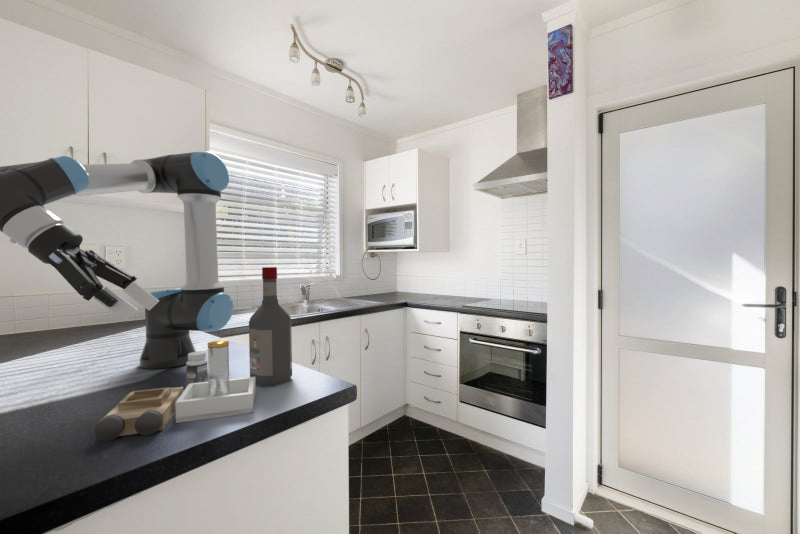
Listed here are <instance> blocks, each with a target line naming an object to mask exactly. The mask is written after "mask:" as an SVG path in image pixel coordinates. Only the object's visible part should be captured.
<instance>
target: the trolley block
mask: <svg viewBox="0 0 800 534" xmlns="http://www.w3.org/2000/svg"><path fill="white" fill-rule="evenodd" d="M183 391H184V386H179V387H171V386H170V387H168V386H167V387H161V388H152V389H151V388H150V389H141V390H133V391H132V390H131V392H129V393H128V394H127V395H126V396H125V397H124V398H123V399H121V400H120V401H119V402H118V403H117V405H116V406H114V408H112V409H111V410H110V411H109V412H108V413H107V414H105V415H104V416H103V417H102V418H101V419H100V420H99V421H98V422H97V424H96V425H95V427H94V430H93V435H94V436H95V437H96V438H97V439H98V440H99V441H103V442H110V441H113V440H115V439H117V438H118V437H121V436H129V435H130V436H131V435H136V434H139V435H141V436H150V435H153V434H155V433H157V432H158V431H163V430H165V428H166V426H167V425H168V424H169V422H170V420H171V419H172V417H174V415H175V414H176V408H175V403H176V401H177V400H178V398H179V397H180V396H181V394H182V393H183Z"/></svg>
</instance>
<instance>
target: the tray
mask: <svg viewBox="0 0 800 534" xmlns="http://www.w3.org/2000/svg"><path fill="white" fill-rule="evenodd" d="M256 387H257V385H256V380H255V377H250V376H249V377H247V376H246V377H241V378H240V377H239V378H229V395H223V396H214V397H209V381H208V382H200V383H190V384H188V386H187V385H186V387H185V389H183V393H182V394H181V396H180V397H179V398H178V400H177V401H176V403H175V408H176V412H175V424H180V423H186V422H194V421H200V420H207V419H208V420H209V419H216V418H223V417H231V416H239V415H245V414H252V413H254V407H255V401H256V394H257V393H256V392H257V390H256V389H257V388H256Z"/></svg>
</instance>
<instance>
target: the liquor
mask: <svg viewBox="0 0 800 534" xmlns="http://www.w3.org/2000/svg"><path fill="white" fill-rule="evenodd" d="M261 273H262V274H261V276H262V277H261V278H262V301H261V305H260V306H259V307H258V308H257V310H255V311H254V312H253V314H251V317H250V319H249V322H248V338H249V339H248V340H249V341H248V342H249V343H248V344H249V345H248V347H249V348H248V349H249V350H248V351H249V352H248V355H249V377H255V380H256V384H257V385H256V386H258V385H259V387H261V386H262V387H261V388H265V387H264V386H271V387H275V385H276V386H278V384H279V385H282V384H285V383H288V382H290V380H291V378H292V376H293V349H292V348H293V340H292V337H293V335H292V317H291V315H290V314H289V313H288V312H287V310H286V309H284V307H282V305H280V303H279V300H278V289H277V288H278V287H277V286H278V285H277V284H278V283H277V281H278V280H277V279H278V267H277V266H276V267H275V266H273V267H271V266H269V267H268V266H267V267H266V266H265V267H262V268H261ZM287 381H288V382H287ZM284 382H285V383H284ZM281 383H282V384H281Z"/></svg>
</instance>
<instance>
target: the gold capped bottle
mask: <svg viewBox="0 0 800 534" xmlns="http://www.w3.org/2000/svg"><path fill="white" fill-rule="evenodd" d="M229 344H230V343H229V340H213V341H209V342H207V378H208V382H209V397H214V396H223V395H229V379H230V359H229V357H230V356H229V355H230V351H229Z"/></svg>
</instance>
